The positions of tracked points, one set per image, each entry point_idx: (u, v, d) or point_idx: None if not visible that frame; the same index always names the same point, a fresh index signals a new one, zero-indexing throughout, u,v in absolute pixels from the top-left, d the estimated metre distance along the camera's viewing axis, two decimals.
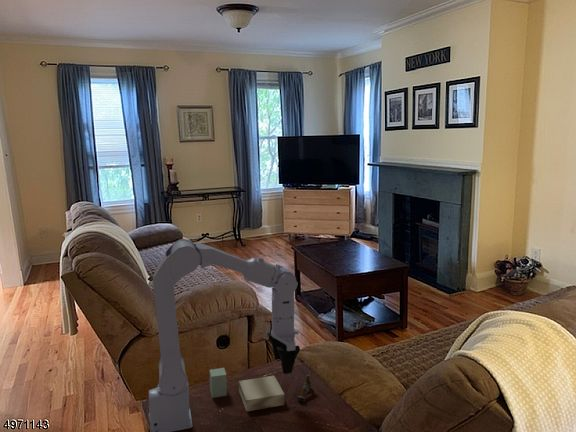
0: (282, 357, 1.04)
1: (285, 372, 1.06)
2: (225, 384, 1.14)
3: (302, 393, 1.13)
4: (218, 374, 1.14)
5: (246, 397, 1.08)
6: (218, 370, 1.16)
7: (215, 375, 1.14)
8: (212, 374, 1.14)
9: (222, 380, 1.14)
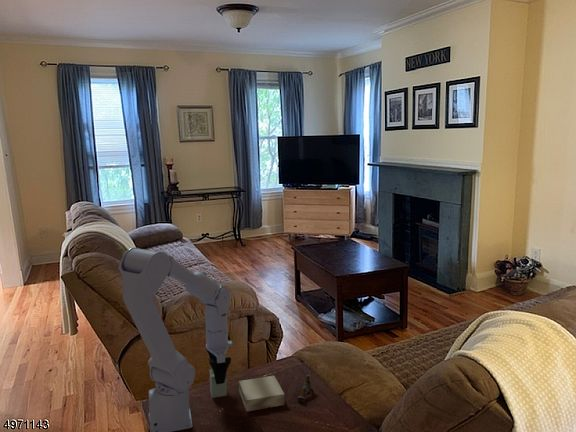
0: (213, 368, 1.09)
1: (217, 382, 1.11)
2: (225, 384, 1.14)
3: (302, 393, 1.12)
4: None
5: (246, 397, 1.08)
6: None
7: None
8: (212, 374, 1.14)
9: None
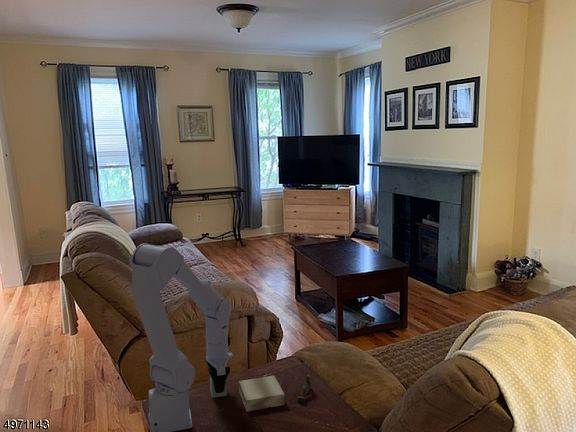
0: (213, 378, 1.11)
1: (217, 391, 1.13)
2: (225, 384, 1.14)
3: (302, 393, 1.12)
4: None
5: (246, 397, 1.08)
6: None
7: None
8: None
9: None
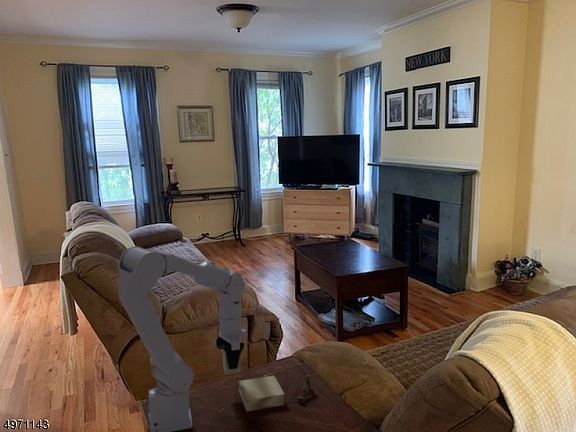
0: (227, 353, 1.10)
1: (230, 368, 1.12)
2: (239, 360, 1.13)
3: (302, 394, 1.12)
4: None
5: (246, 397, 1.08)
6: None
7: None
8: None
9: None
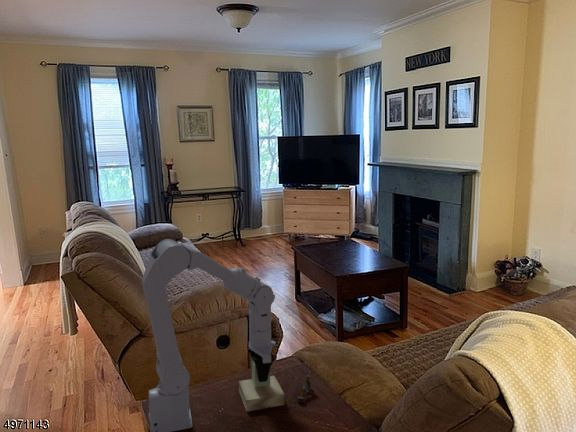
0: (257, 366, 1.08)
1: (260, 380, 1.10)
2: None
3: (302, 394, 1.12)
4: None
5: (246, 397, 1.08)
6: None
7: None
8: None
9: None
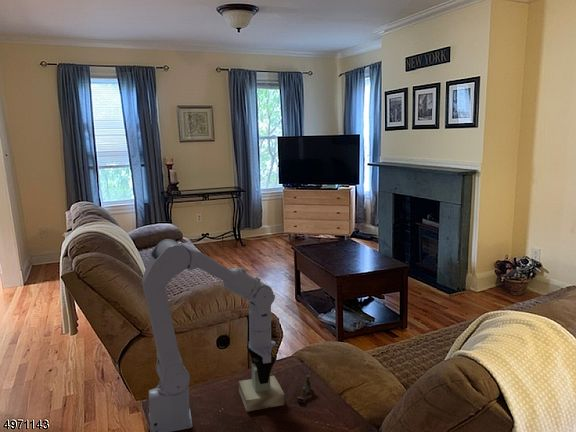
0: (258, 368, 1.07)
1: (261, 382, 1.09)
2: (269, 378, 1.11)
3: (302, 394, 1.12)
4: None
5: (246, 397, 1.08)
6: None
7: None
8: (255, 368, 1.11)
9: None
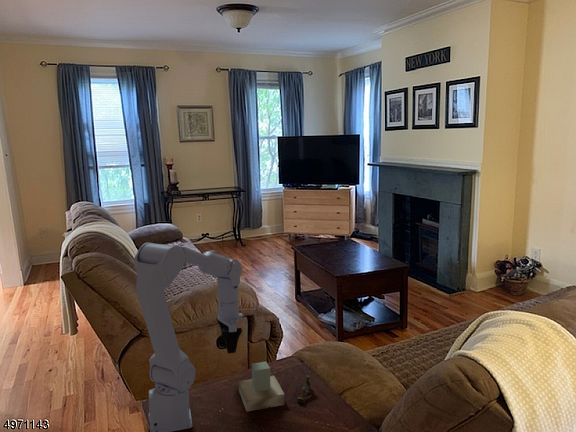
0: (225, 338, 1.15)
1: (229, 352, 1.17)
2: (269, 378, 1.11)
3: (301, 394, 1.12)
4: (261, 367, 1.11)
5: (246, 397, 1.08)
6: (260, 364, 1.13)
7: (258, 368, 1.11)
8: (255, 368, 1.11)
9: (265, 374, 1.11)
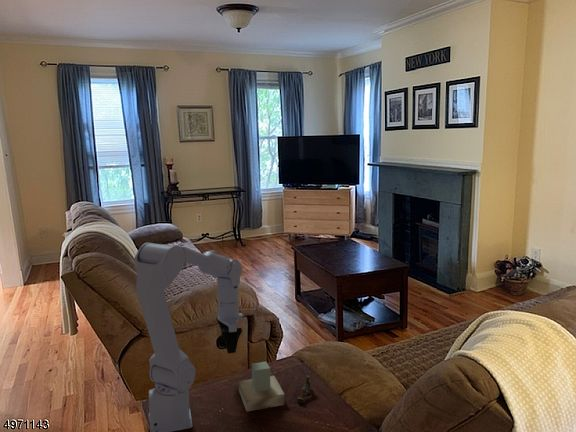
0: (225, 338, 1.15)
1: (229, 352, 1.17)
2: (269, 378, 1.11)
3: (301, 394, 1.12)
4: (261, 367, 1.11)
5: (246, 397, 1.08)
6: (260, 364, 1.13)
7: (258, 368, 1.11)
8: (255, 368, 1.11)
9: (265, 374, 1.11)
